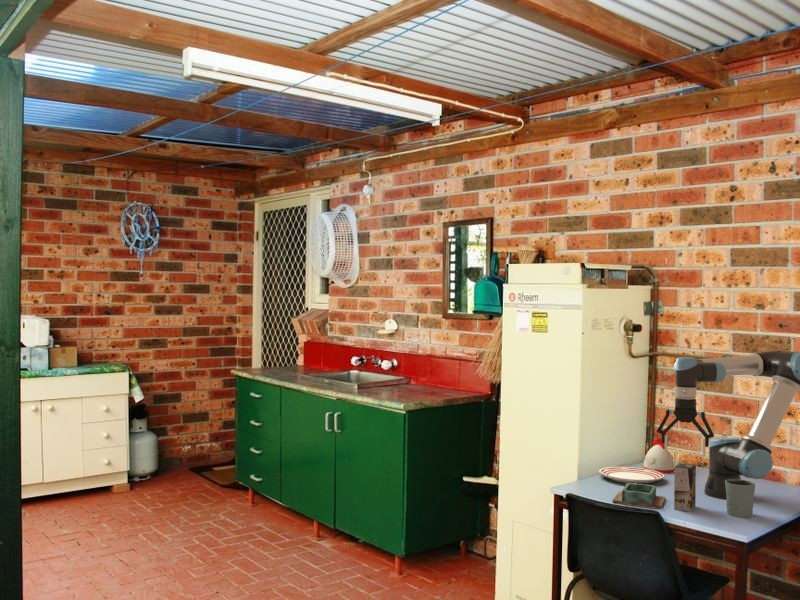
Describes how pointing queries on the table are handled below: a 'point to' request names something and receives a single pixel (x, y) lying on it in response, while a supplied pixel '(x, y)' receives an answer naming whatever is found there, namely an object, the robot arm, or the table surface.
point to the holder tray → (639, 496)
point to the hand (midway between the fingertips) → (684, 453)
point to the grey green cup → (739, 497)
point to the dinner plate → (631, 474)
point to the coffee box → (685, 487)
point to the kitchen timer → (659, 458)
